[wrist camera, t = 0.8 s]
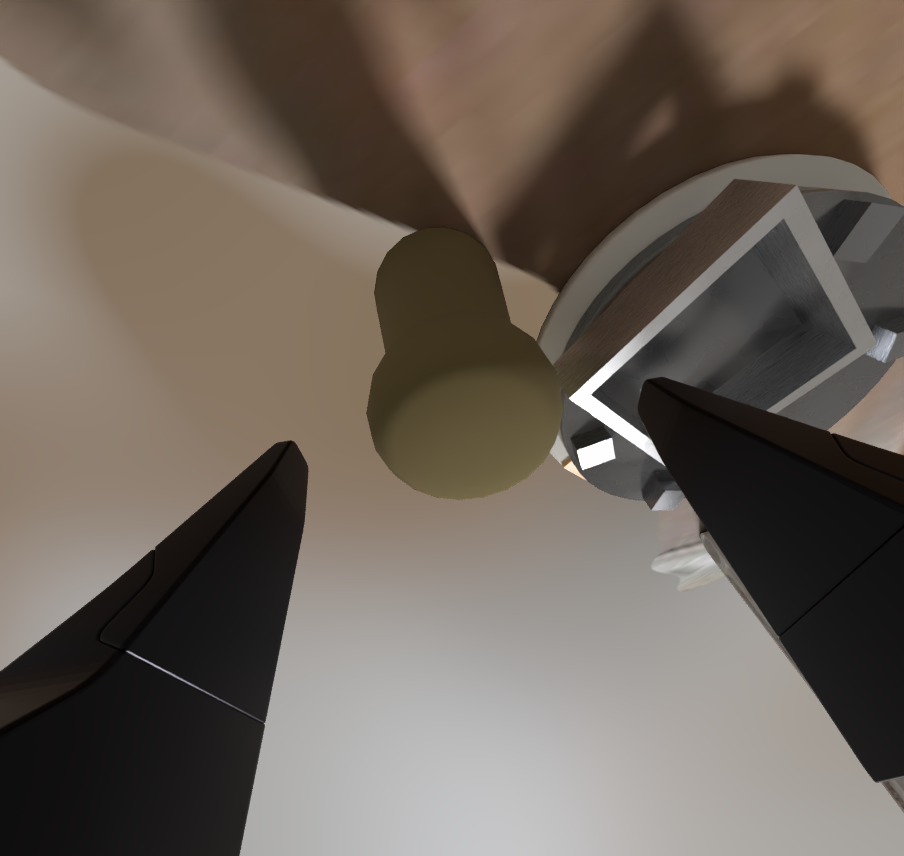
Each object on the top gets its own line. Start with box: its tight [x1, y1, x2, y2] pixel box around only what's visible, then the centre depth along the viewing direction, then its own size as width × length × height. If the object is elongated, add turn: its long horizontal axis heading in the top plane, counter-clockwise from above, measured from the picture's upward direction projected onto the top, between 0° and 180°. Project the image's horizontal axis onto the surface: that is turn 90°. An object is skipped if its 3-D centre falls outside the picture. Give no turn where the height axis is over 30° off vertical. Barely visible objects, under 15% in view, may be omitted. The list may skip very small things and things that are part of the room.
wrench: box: [700, 531, 904, 812], centre depth 21 cm, size 8×2×30 cm, turn 27°
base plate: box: [536, 154, 891, 480], centre depth 20 cm, size 19×19×1 cm
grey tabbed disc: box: [553, 179, 904, 510], centre depth 18 cm, size 17×17×4 cm
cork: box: [367, 227, 563, 500], centre depth 13 cm, size 6×6×11 cm
